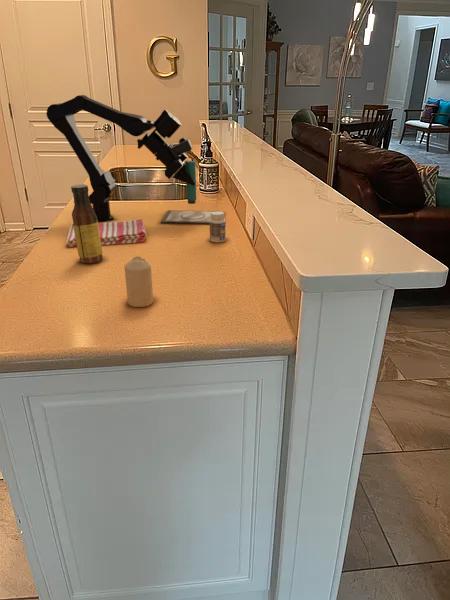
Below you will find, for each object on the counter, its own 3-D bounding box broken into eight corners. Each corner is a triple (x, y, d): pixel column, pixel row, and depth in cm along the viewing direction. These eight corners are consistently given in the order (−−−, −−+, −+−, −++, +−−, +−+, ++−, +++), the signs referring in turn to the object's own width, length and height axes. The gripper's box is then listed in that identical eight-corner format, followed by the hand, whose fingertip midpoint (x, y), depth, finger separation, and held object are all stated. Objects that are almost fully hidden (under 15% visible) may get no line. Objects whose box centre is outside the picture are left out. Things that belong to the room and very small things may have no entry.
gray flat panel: (160, 223, 158) (160, 221, 158) (168, 211, 172) (168, 209, 172) (220, 224, 157) (220, 222, 157) (222, 212, 171) (222, 210, 170)
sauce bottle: (107, 257, 128) (99, 184, 120) (94, 265, 123) (85, 189, 114) (87, 255, 130) (77, 182, 122) (73, 262, 125) (62, 187, 116)
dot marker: (185, 203, 158) (184, 162, 152) (188, 201, 161) (187, 160, 155) (194, 204, 158) (193, 162, 152) (197, 202, 160) (196, 161, 155)
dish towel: (147, 242, 140) (146, 231, 139) (65, 247, 136) (64, 236, 134) (143, 226, 155) (142, 215, 154) (70, 230, 151) (68, 220, 149)
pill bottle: (223, 243, 140) (223, 215, 136) (208, 242, 141) (207, 214, 137) (226, 238, 144) (227, 211, 140) (211, 237, 145) (211, 210, 141)
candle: (129, 297, 106) (125, 254, 101) (153, 296, 106) (151, 254, 102) (126, 307, 101) (122, 263, 96) (152, 307, 101) (149, 263, 97)
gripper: (173, 133, 141) (210, 171, 146) (180, 127, 158) (213, 161, 162) (149, 160, 145) (186, 196, 149) (158, 151, 161) (191, 184, 166)
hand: (195, 183), depth 157 cm, fingers closed on dot marker, 3 cm apart
